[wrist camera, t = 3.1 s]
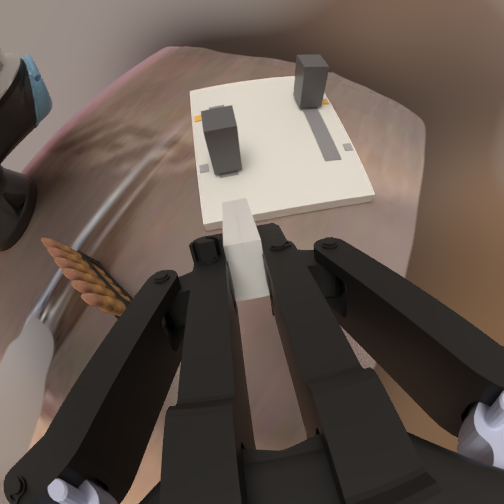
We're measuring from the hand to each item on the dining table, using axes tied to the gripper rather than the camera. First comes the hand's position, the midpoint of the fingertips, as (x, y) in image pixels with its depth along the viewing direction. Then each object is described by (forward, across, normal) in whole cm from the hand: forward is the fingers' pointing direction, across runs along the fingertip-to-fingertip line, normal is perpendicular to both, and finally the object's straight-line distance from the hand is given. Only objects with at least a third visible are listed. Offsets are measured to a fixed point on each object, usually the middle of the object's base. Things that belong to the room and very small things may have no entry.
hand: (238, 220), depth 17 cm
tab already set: (+27, +14, +8) cm, 31 cm away
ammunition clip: (+12, -17, -10) cm, 23 cm away
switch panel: (+25, +7, +3) cm, 26 cm away
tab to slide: (+20, 0, +1) cm, 20 cm away
